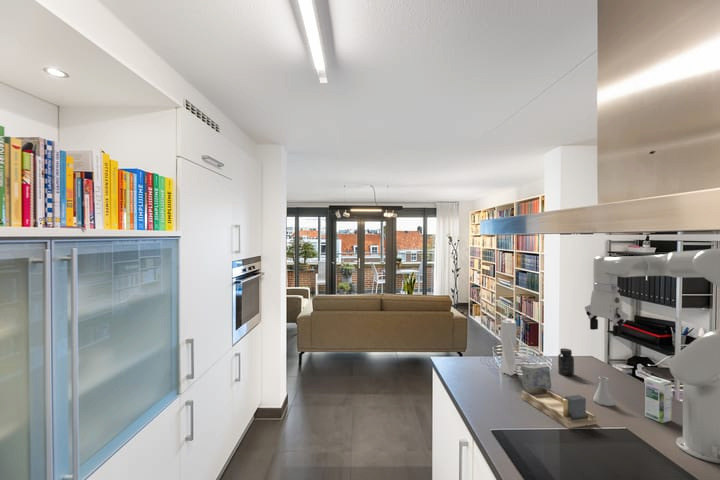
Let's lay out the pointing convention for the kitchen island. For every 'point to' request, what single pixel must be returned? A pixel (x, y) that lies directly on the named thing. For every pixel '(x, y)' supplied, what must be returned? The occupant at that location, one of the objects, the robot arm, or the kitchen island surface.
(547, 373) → the grey stone block
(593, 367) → the kitchen island surface
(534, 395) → the wooden tray
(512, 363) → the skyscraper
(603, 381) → the flask
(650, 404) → the syrup box
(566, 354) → the supplement bottle
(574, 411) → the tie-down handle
